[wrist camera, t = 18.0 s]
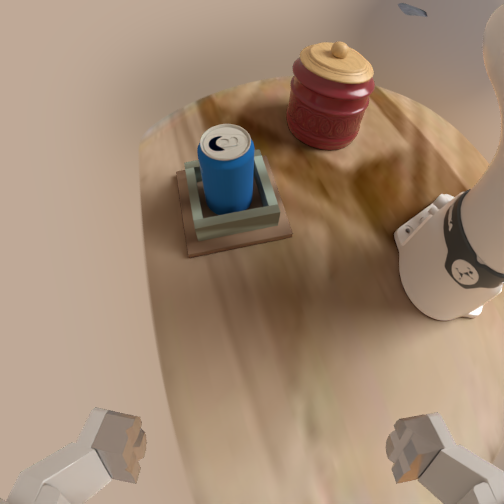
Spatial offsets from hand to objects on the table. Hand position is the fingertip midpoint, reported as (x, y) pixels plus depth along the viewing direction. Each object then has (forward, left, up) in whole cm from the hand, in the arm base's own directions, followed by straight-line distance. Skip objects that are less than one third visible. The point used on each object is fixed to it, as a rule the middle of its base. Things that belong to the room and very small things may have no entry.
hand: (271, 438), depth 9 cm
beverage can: (-16, -22, -28) cm, 39 cm away
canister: (-39, -23, -29) cm, 54 cm away
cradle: (-16, -21, -29) cm, 39 cm away
